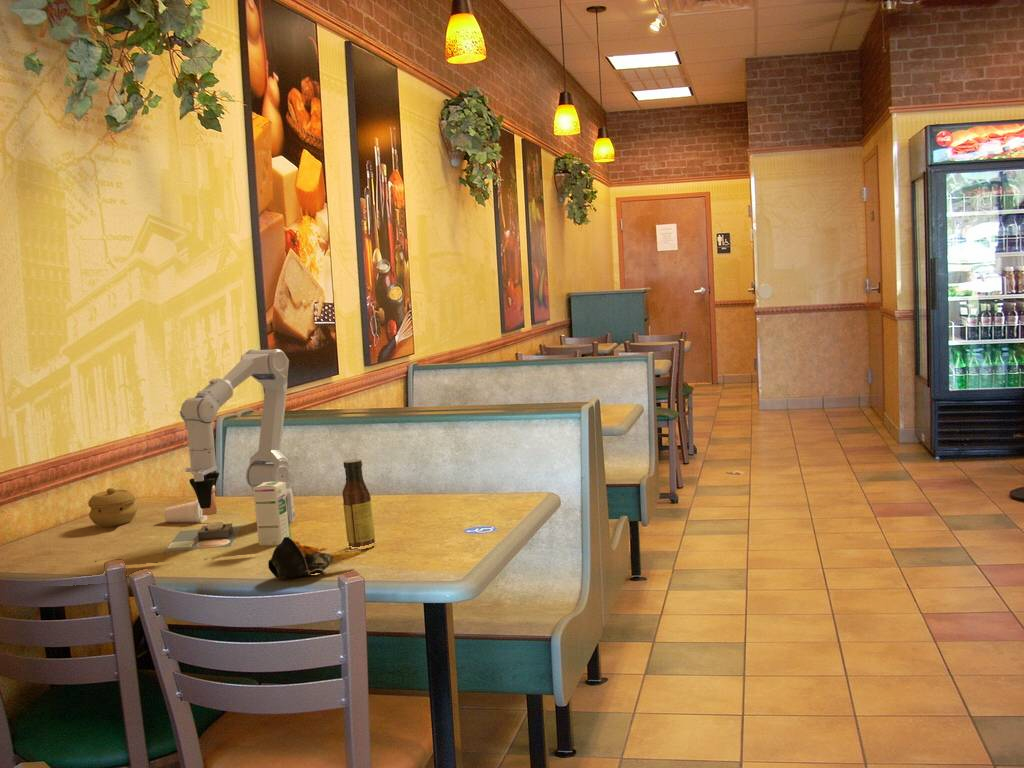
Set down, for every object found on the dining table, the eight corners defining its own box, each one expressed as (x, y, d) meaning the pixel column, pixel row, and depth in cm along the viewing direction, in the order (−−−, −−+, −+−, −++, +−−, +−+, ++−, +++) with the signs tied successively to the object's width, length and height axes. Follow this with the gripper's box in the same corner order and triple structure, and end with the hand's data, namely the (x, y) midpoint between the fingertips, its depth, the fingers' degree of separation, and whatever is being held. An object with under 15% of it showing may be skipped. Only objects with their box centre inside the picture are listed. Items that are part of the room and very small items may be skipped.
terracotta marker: (218, 511, 250) (216, 484, 250) (216, 514, 247) (213, 487, 246) (203, 512, 250) (200, 485, 249) (200, 516, 247) (198, 488, 246)
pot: (80, 531, 274) (76, 492, 273) (109, 520, 285) (105, 483, 284) (119, 531, 270) (115, 492, 269) (147, 520, 282) (143, 483, 281)
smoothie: (159, 512, 270) (211, 506, 268) (167, 497, 275) (219, 492, 274) (166, 532, 273) (219, 527, 271) (175, 517, 278) (226, 512, 277)
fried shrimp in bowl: (256, 555, 220) (328, 512, 229) (283, 601, 219) (355, 557, 228) (266, 547, 212) (341, 503, 221) (294, 594, 211) (368, 549, 221)
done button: (224, 528, 257) (223, 521, 257) (222, 532, 254) (221, 524, 253) (209, 530, 257) (208, 522, 257) (206, 533, 253) (205, 526, 253)
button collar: (232, 531, 259) (232, 523, 259) (228, 538, 252) (227, 530, 252) (203, 533, 258) (202, 525, 258) (198, 540, 251) (197, 532, 251)
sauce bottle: (380, 544, 241) (374, 457, 239) (368, 551, 235) (361, 462, 233) (354, 543, 244) (348, 457, 241) (341, 550, 238) (334, 462, 236)
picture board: (242, 528, 265) (242, 525, 265) (230, 549, 245) (230, 545, 244) (180, 534, 263) (180, 530, 263) (163, 555, 243) (163, 551, 243)
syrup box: (282, 548, 243) (277, 485, 241) (257, 548, 244) (252, 486, 242) (291, 541, 248) (286, 480, 247) (268, 542, 250) (262, 481, 248)
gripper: (190, 445, 254) (195, 501, 255) (177, 455, 239) (183, 514, 241) (220, 443, 254) (225, 498, 256) (210, 452, 240) (215, 511, 241)
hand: (207, 506), depth 248 cm, fingers closed on terracotta marker, 3 cm apart
